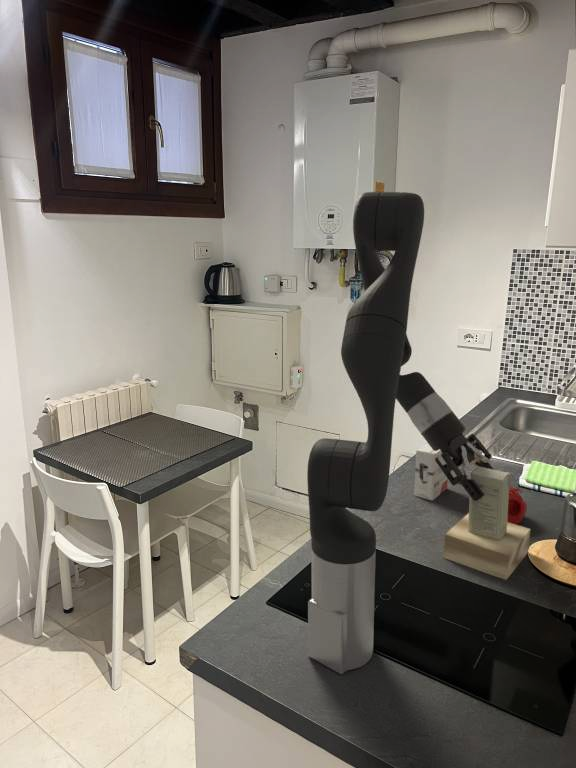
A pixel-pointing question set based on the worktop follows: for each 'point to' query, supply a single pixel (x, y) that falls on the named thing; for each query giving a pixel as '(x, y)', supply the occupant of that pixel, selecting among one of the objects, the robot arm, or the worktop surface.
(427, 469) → the ink box
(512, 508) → the pomegranate
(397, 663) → the worktop surface
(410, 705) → the worktop surface
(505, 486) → the skincare box
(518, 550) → the birch block
